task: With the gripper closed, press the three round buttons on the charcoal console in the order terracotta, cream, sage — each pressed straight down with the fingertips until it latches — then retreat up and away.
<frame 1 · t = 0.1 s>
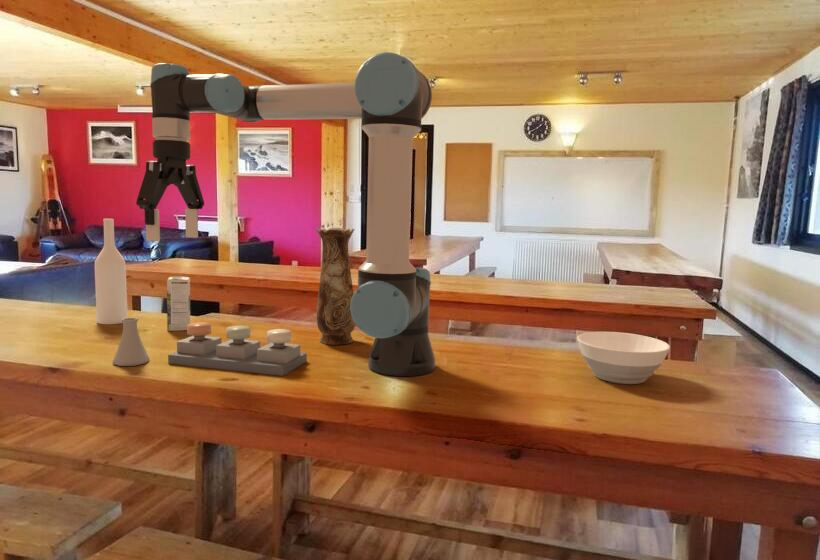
hand: (173, 239, 130), 28 cm above the table, fingers open, 13 cm apart
bottle: (112, 322, 173), on the table
vase: (335, 341, 157), on the table
button terracotta: (199, 333, 136), point 6 cm above the table, slide at 0.0 cm
syrup box: (179, 329, 166), on the table
flask: (131, 363, 132), on the table
bowl: (619, 378, 132), on the table
button sage: (238, 337, 134), point 6 cm above the table, slide at 0.0 cm
console: (238, 362, 134), on the table
button cream: (279, 340, 131), point 6 cm above the table, slide at 0.0 cm
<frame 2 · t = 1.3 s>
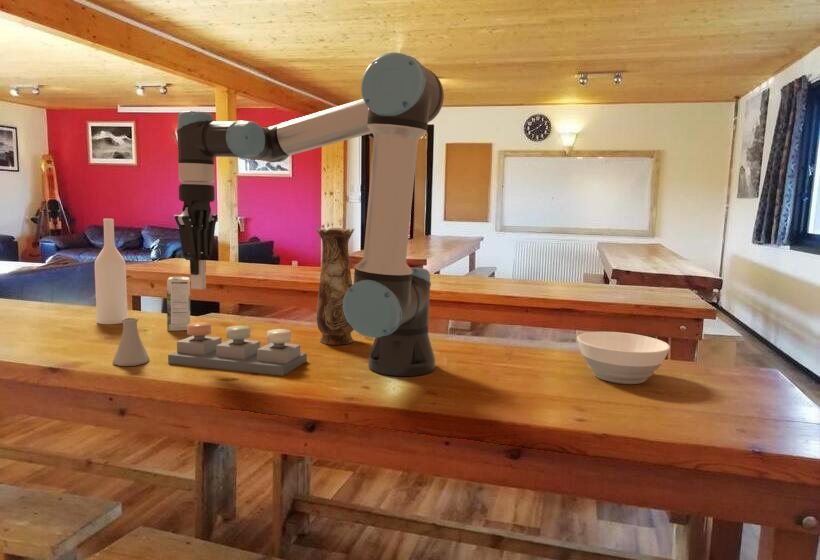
hand: (198, 288, 135), 16 cm above the table, fingers closed
nothing on the table moved.
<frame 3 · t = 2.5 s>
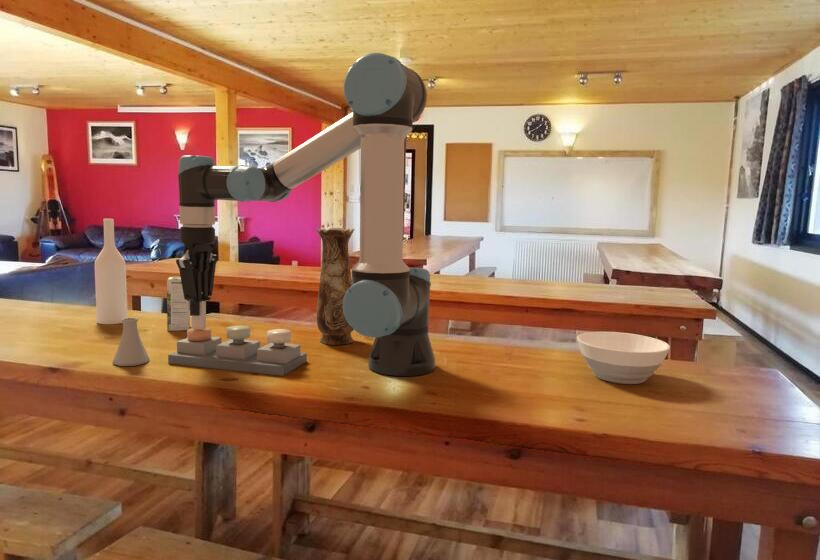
hand: (199, 328, 136), 7 cm above the table, fingers closed
button terracotta: (199, 338, 136), point 5 cm above the table, slide at 1.2 cm, touching gripper
everything else where it was.
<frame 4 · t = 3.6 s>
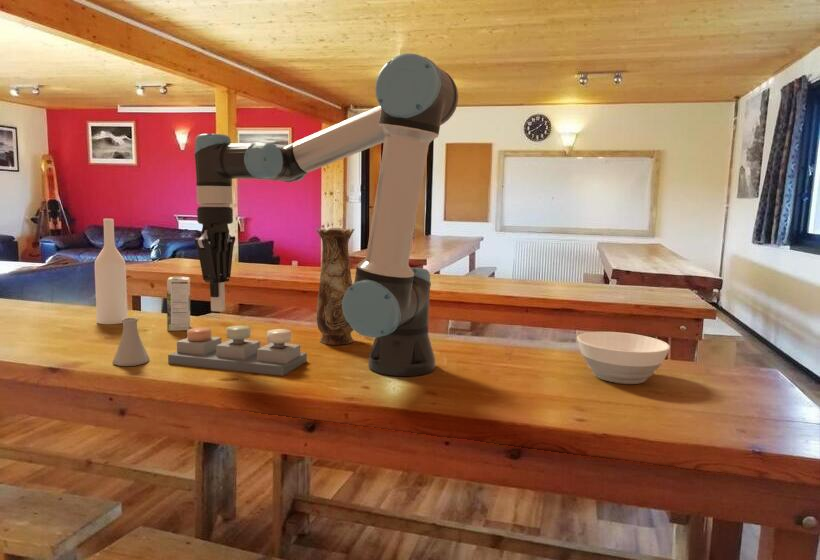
hand: (218, 310, 134), 12 cm above the table, fingers closed
button terracotta: (199, 339, 136), point 5 cm above the table, slide at 1.3 cm
everything else where it was.
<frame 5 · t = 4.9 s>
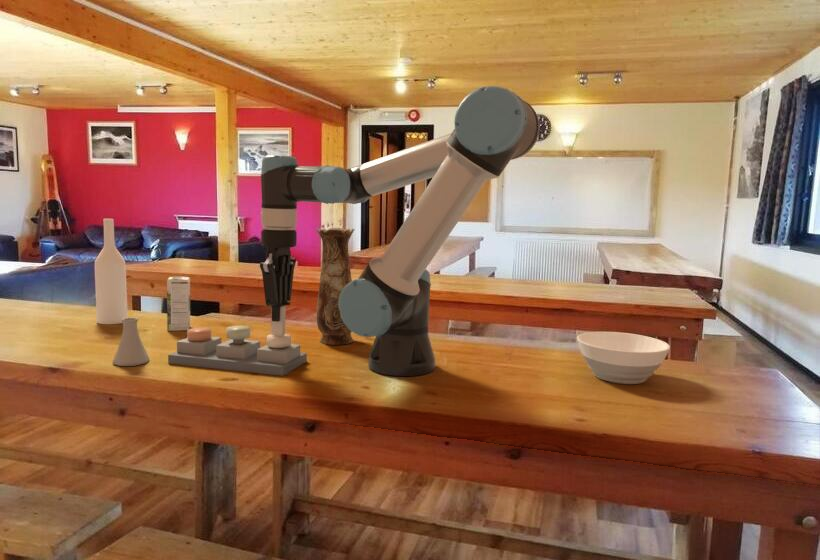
hand: (278, 334, 131), 7 cm above the table, fingers closed
button cream: (279, 345, 131), point 5 cm above the table, slide at 1.0 cm, touching gripper
everything else where it was.
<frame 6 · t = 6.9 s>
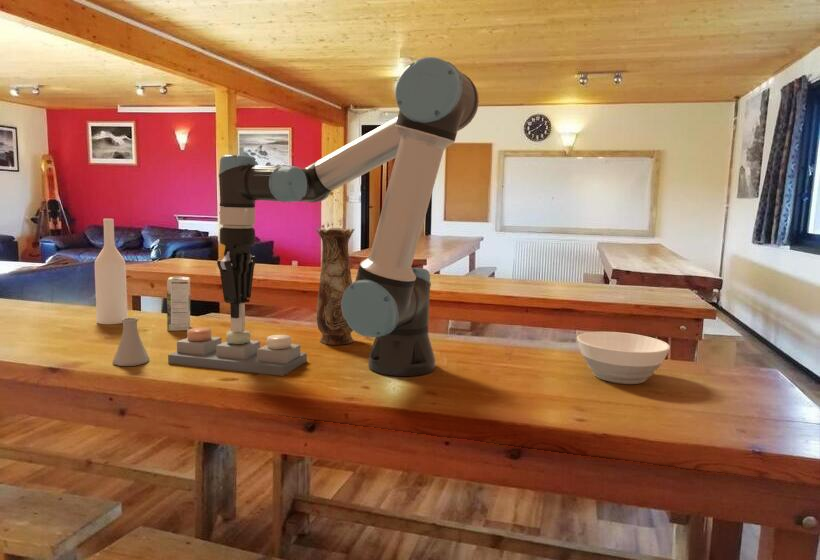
hand: (237, 331, 134), 7 cm above the table, fingers closed
button sage: (238, 341, 134), point 5 cm above the table, slide at 1.0 cm
button cream: (279, 346, 132), point 5 cm above the table, slide at 1.3 cm
everything else where it was.
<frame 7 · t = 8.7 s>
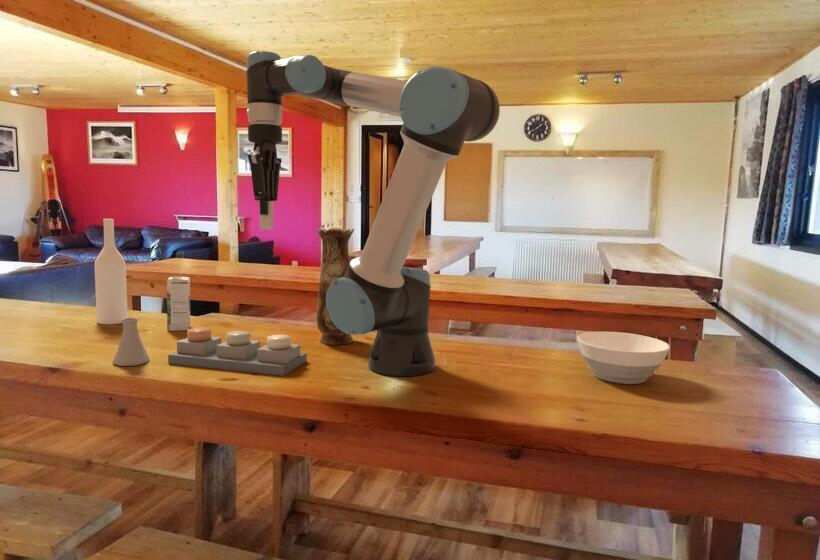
hand: (266, 229, 137), 30 cm above the table, fingers closed
nothing on the table moved.
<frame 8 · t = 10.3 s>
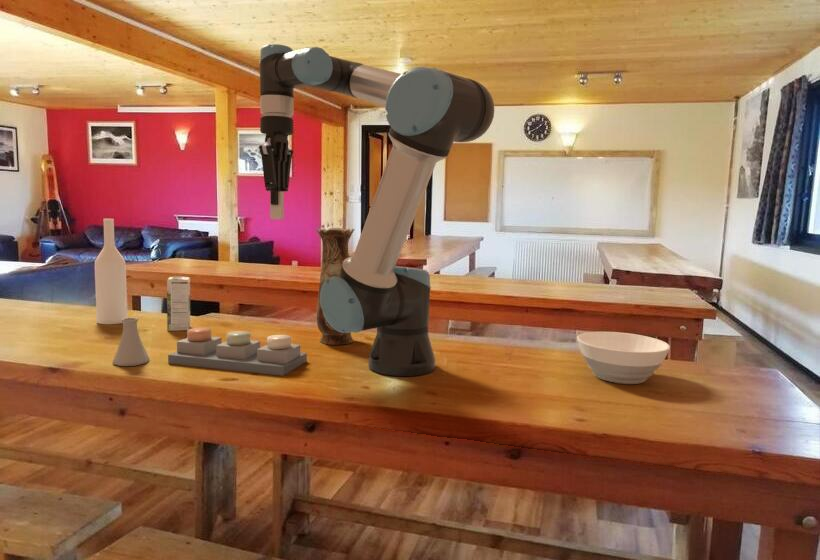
hand: (276, 219, 140), 32 cm above the table, fingers closed
nothing on the table moved.
at the end: button terracotta slide at 1.3 cm; button cream slide at 1.3 cm; button sage slide at 1.3 cm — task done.
